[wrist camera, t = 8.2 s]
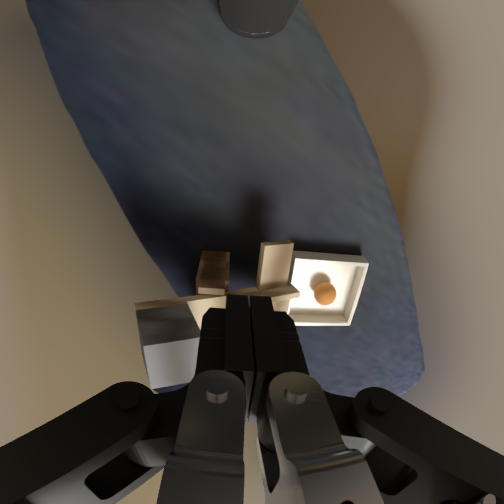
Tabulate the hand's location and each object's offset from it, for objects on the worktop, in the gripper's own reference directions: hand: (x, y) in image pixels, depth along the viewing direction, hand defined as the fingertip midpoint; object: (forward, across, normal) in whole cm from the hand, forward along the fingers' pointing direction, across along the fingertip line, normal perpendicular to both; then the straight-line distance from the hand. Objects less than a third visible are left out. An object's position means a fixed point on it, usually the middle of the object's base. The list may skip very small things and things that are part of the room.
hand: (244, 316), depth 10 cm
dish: (+31, -15, +16) cm, 38 cm away
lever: (+22, +1, +13) cm, 25 cm away
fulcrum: (+31, +2, +16) cm, 35 cm away
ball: (+30, -16, +16) cm, 38 cm away
